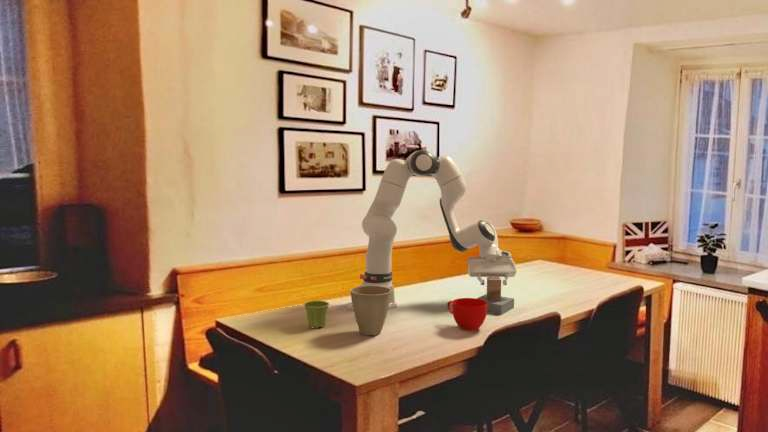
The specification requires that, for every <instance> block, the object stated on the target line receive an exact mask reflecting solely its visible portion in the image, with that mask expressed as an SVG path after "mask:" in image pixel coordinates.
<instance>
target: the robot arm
mask: <svg viewBox="0 0 768 432" xmlns="http://www.w3.org/2000/svg"><path fill="white" fill-rule="evenodd" d="M429 175H430V176H432V177H433V178H434V179H435V180H436V183H437V185H438V187H439V189H440V192H441V194H440V195H441V197H440V198H439V206H440V210H441V213H442V217H443V220H444V222H445V225H446V229H447V231H448V235H449V240H450V243H451V247H452V249H454V250H456V251H457V252H461V253H465V252H467V251H468V250H470V249H472V248H474V247H477V246H478V247H479V249H478V250H479V252H478V253H479V256H475V257H474V256H470V257H468V258H467V259H466V264H467V266H468V271H467V272H468V276H469V277H471V278H476V279H477V280H478V281H479V283H480V286H485V284H486V282H485V279H482V278H487V277H499V278H504V279H502V286H507V285H508V280H509V278H514V277H516V275H517V266H516V262H515V261H514V259H513V258H512V253H511V252H509V251H504V250H502V249H500V248H499V239H498V233H497V231H496V227H494V225H493V224H492V223H488V222H487V221H484V220H482V219H479V220H476V221H475V222H471V223H470V224H469V225H465V226H463V227H461V228H460V227H459V224H458V222H457V219H456V216H455V213H454V208H455V205H456V204H457V203H458V202H459V201H460V200H461V198H463V196H464V195H465V193H466V190H467V183H466V180H465V177H464V175H463V174H462V172H461V170H460V169H459V167H458V166H457V164H456V162H455V161H454V160H453V159H452V157H450V156H449V155H441V156H436V155H435V154H433V153H432V152H431V151H428V150H425V149H421V150H416V151H413V152H412V153H410V154H409V155H408V156H407V157H406V158H405V159H404V160H403V159H400V158H395V159H391V160H390V161H389V162H388V164H387V166H386V168H385V169H384V172H383V174H382V176H381V179H380V182H379V185H378V189H377V192H376V194H375V196H374V198H373V202H371V205H370V207H369V208H368V211H367V212H366V215H365V216H364V217H363V219H362V222H361V225H362V226H361V228H362V230H363V232H364V234H365V235H366V236H367V237H368V244H367V250H366V253H365V271H364V274H360V275H359V279H360V280H363V281H362V283H361V284H360V285H359V286H382V287H387V288H390V289H391V297H390V303H389V308H388V310H389V309H393V308H397V307H398V303H397V302H396V298H395V297H396V296H395V287H394V285H393V283H392V282H393V270H392V254H393V253H392V252H393V247H394V241H395V238H396V235H397V231H398V229H397V225H396V224H395V222H394V221H393V219H392V218H393V216H394V215H395V212H396V211H397V209H398V208H399V207H400V206H401V203H402V199H403V197H404V194H405V190H406V187H407V184H408V181H409V179H410V178H411V177H424V176H429ZM346 308H347V310H351V311H354V310H353V305H352V302H351V303H349V304H347V306H346Z"/></svg>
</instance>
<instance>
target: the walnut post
mask: <svg viewBox="0 0 768 432" xmlns="http://www.w3.org/2000/svg"><path fill="white" fill-rule="evenodd" d="M486 294H487V299H488V301H501V296H502V295H501V294H502V279H501V277H486Z"/></svg>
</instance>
